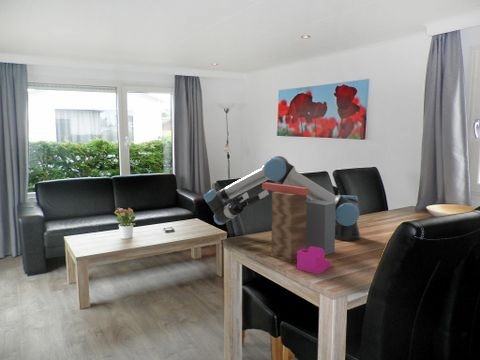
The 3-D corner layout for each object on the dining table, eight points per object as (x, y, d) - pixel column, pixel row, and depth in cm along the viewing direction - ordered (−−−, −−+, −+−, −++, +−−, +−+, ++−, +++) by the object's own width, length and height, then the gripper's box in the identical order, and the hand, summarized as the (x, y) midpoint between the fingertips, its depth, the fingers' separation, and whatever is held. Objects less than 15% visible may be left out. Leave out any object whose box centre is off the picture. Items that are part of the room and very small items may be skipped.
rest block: (304, 249, 192) (304, 201, 189) (314, 246, 197) (315, 199, 194) (324, 255, 183) (325, 204, 180) (334, 252, 188) (335, 202, 185)
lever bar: (262, 189, 189) (262, 182, 189) (266, 188, 191) (266, 182, 191) (304, 195, 170) (304, 188, 169) (308, 194, 172) (308, 187, 171)
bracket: (319, 274, 159) (319, 249, 158) (296, 269, 166) (297, 245, 164) (331, 266, 169) (332, 242, 168) (309, 261, 175) (310, 239, 174)
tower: (268, 255, 183) (268, 192, 180) (285, 250, 191) (286, 189, 187) (291, 262, 173) (292, 195, 169) (308, 257, 181) (309, 192, 177)
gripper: (253, 212, 216) (277, 197, 201) (217, 219, 199) (241, 203, 184) (248, 199, 218) (272, 184, 203) (212, 205, 201) (235, 188, 186)
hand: (257, 193), depth 193 cm, fingers open, 13 cm apart
